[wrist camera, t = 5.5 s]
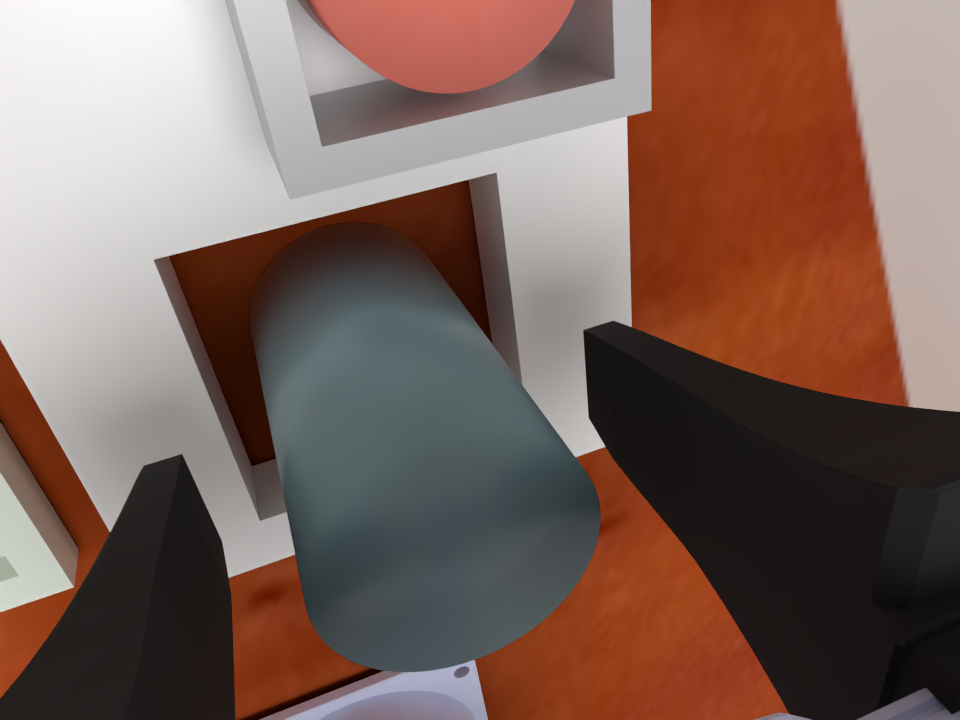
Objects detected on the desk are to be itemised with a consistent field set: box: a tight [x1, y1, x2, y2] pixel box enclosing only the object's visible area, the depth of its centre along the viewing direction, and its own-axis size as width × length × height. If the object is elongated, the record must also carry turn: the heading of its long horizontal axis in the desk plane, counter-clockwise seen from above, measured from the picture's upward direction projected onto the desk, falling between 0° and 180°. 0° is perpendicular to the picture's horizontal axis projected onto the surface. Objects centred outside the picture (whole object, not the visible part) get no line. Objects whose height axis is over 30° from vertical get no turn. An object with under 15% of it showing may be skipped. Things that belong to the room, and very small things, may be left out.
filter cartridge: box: [250, 222, 600, 672], centre depth 14 cm, size 4×4×8 cm
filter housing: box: [0, 0, 651, 578], centre depth 14 cm, size 15×12×5 cm
